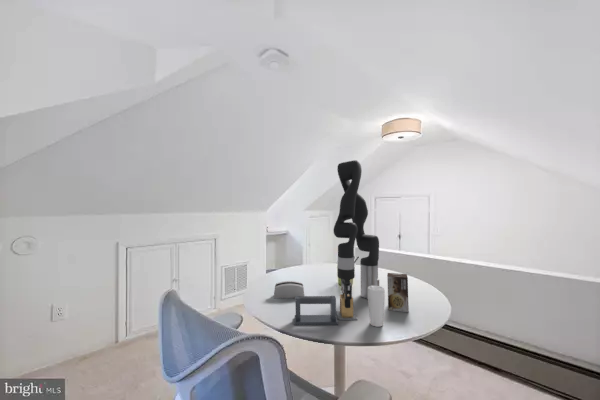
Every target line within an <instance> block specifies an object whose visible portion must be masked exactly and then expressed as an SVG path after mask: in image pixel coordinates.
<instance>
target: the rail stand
mask: <svg viewBox="0 0 600 400" xmlns="http://www.w3.org/2000/svg"><path fill="white" fill-rule="evenodd" d="M301 305H330V307H329V308H330V309H329V311H330V314H301ZM336 311H337V298H336V295H321V296H320V295H316V296H315V295H308V296H307V295H306V296H296V298H295V315H294V320H293V321H294V323H293V325H294V326H338V325H339V320H338V317H337V313H336Z"/></svg>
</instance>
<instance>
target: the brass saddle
mask: <svg viewBox="0 0 600 400" xmlns="http://www.w3.org/2000/svg"><path fill="white" fill-rule="evenodd" d="M347 296H349V294H347ZM339 311H340V313H341V315H342V318H353V311H354V297H353V296H352V299H350V308H345V294H343V293H339Z"/></svg>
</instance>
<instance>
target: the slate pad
mask: <svg viewBox="0 0 600 400" xmlns="http://www.w3.org/2000/svg"><path fill="white" fill-rule="evenodd" d="M336 317H337V320H338V321H358V317H357V315H356V314H355V311H354V310H353V318H342V315H341V313H340V310H336Z"/></svg>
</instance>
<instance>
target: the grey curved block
mask: <svg viewBox="0 0 600 400" xmlns="http://www.w3.org/2000/svg"><path fill="white" fill-rule="evenodd" d="M304 287H305V286H304V284H303V282H301V281H295V280H285V281H280V282H277V283H276V284H275V286H274V292H273V299H296V296H305V288H304Z"/></svg>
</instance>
